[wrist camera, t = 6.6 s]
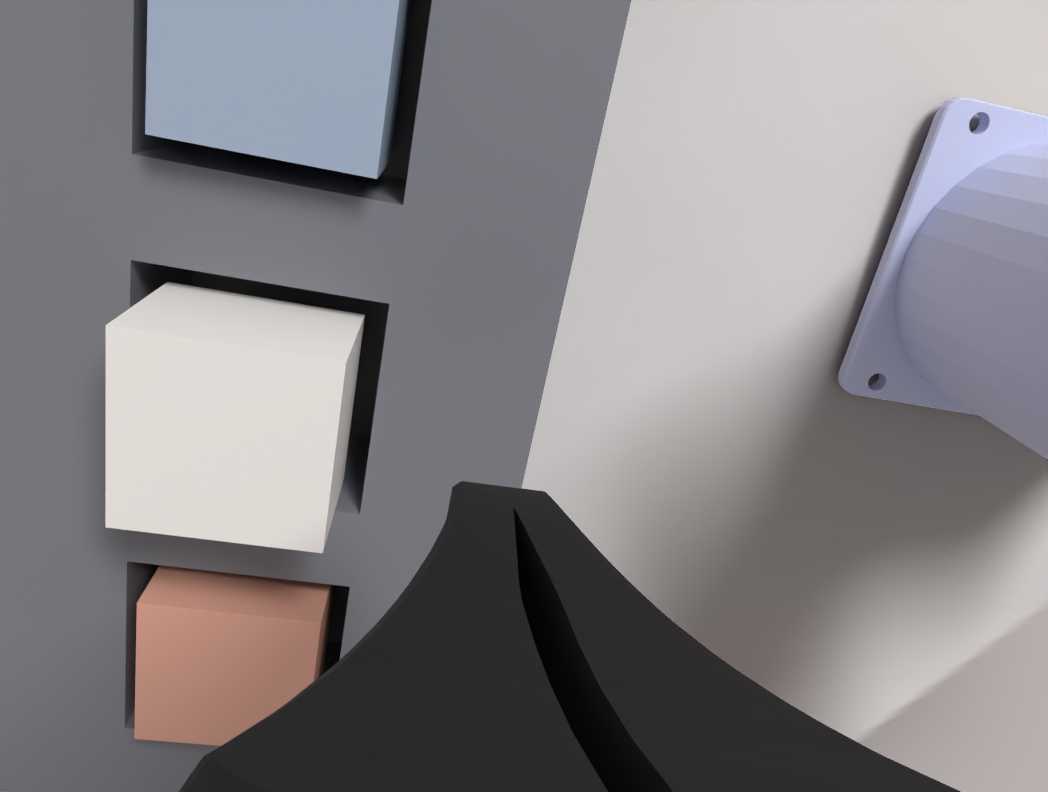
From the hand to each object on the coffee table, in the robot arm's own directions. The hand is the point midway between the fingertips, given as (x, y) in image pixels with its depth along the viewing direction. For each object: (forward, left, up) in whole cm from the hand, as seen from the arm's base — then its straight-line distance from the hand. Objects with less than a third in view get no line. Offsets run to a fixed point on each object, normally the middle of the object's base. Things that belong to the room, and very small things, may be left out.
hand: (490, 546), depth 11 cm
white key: (+5, +1, -7) cm, 8 cm away
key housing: (+5, +1, -10) cm, 11 cm away
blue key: (+5, -6, -8) cm, 11 cm away
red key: (+5, +8, -8) cm, 12 cm away
